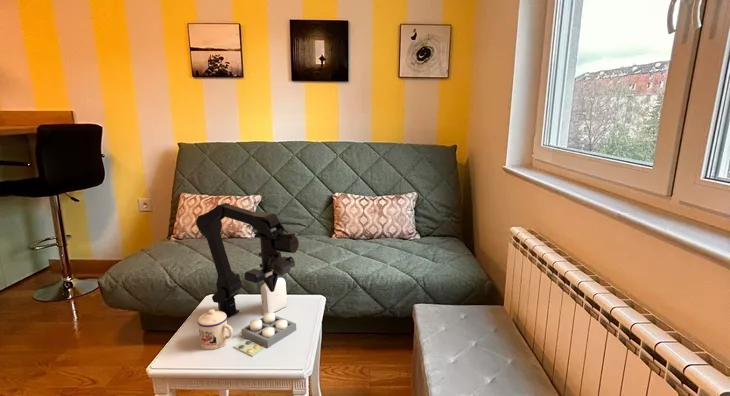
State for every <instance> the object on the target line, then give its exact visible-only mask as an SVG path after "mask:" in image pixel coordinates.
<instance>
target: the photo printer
mask: <svg viewBox="0 0 730 396" xmlns="http://www.w3.org/2000/svg"><path fill="white" fill-rule="evenodd" d="M260 297H261V298H260V300H261V311H262V313H263V314H262V315H264V314H265V313H267V312H273V313H276V312H278V311H280V310H282V309H284V308H286V307H288V296H287V283H286V279H284V278H283V277H278V280H277V283H276V286H275V290H274V291H273V292H271V291H270V290H269V288H268V287H267V285H266V283H265V282H264V283H263V284H262V285H261V286H260Z"/></svg>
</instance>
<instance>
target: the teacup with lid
mask: <svg viewBox="0 0 730 396" xmlns="http://www.w3.org/2000/svg"><path fill="white" fill-rule="evenodd" d="M227 320H228V318H227V315H226V314H225V313H224V312H222V311H219V310H215V309H213V308H211V309H209V310H208V312H205V313H203V314H201V316H199V317H198V319H197V324H198V331H199V339H200V340H199V341H200V347H201V348H203V349H204V350H216V349H220V348H222V347H224V346H226V345H227V343H228V342H229V339H231V338H232V336H233V334H234V330H233V327H232V326H231V325H230V324H228V321H227Z"/></svg>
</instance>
